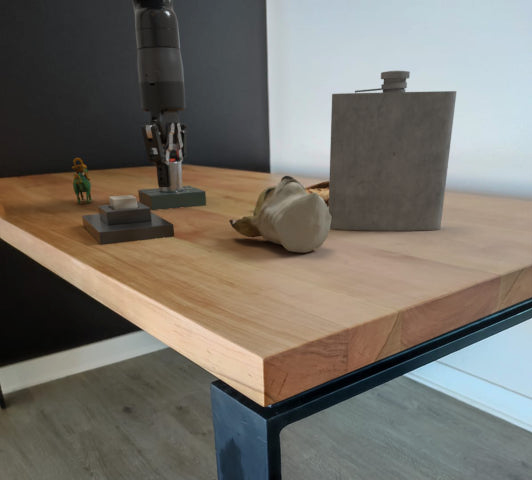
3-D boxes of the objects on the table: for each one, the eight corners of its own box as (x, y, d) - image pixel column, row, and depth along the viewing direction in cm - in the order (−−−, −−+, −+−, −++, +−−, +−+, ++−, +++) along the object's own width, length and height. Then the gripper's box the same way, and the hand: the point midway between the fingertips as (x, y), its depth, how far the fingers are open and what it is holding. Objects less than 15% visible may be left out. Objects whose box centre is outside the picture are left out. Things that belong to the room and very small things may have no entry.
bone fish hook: (336, 200, 104) (252, 206, 97) (337, 174, 103) (251, 178, 95) (365, 204, 97) (276, 211, 89) (367, 177, 95) (276, 182, 88)
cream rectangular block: (115, 212, 75) (113, 199, 75) (110, 209, 78) (108, 196, 77) (138, 210, 77) (136, 197, 76) (132, 207, 79) (131, 194, 79)
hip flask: (438, 225, 79) (456, 70, 70) (443, 231, 75) (462, 68, 67) (328, 224, 80) (332, 73, 72) (327, 230, 77) (332, 71, 68)
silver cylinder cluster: (176, 192, 97) (174, 160, 94) (154, 191, 98) (151, 160, 96) (187, 188, 100) (184, 158, 98) (165, 188, 102) (163, 158, 99)
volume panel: (152, 210, 94) (150, 194, 93) (139, 203, 102) (137, 188, 101) (206, 205, 98) (205, 190, 97) (190, 199, 106) (189, 184, 105)
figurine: (97, 197, 109) (91, 154, 106) (87, 207, 98) (80, 160, 95) (82, 198, 109) (75, 155, 106) (69, 208, 98) (62, 160, 95)
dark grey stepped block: (100, 245, 71) (97, 218, 69) (83, 226, 82) (79, 203, 81) (174, 236, 75) (172, 210, 73) (148, 220, 86) (145, 197, 85)
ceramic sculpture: (272, 180, 58) (222, 176, 70) (275, 261, 61) (226, 243, 74) (356, 175, 62) (294, 171, 75) (354, 251, 65) (295, 235, 78)
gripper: (159, 83, 99) (168, 180, 106) (120, 78, 86) (133, 190, 93) (198, 81, 97) (204, 181, 104) (163, 77, 85) (173, 190, 91)
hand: (170, 184), depth 99 cm, fingers closed on silver cylinder cluster, 4 cm apart
